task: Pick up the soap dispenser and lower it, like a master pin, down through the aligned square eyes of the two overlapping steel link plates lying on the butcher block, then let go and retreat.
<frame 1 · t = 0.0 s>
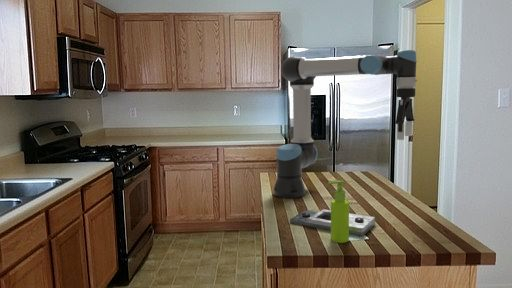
hand: (404, 137, 174), 28 cm above the worktop, fingers open, 13 cm apart
upper link: (331, 223, 150), on the worktop
soap dispenser: (338, 240, 135), on the worktop
lower link: (331, 223, 150), on the worktop
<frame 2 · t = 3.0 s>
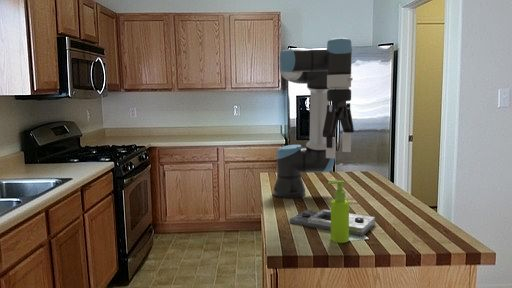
hand: (338, 154, 131), 29 cm above the worktop, fingers open, 13 cm apart
nothing on the worktop moved.
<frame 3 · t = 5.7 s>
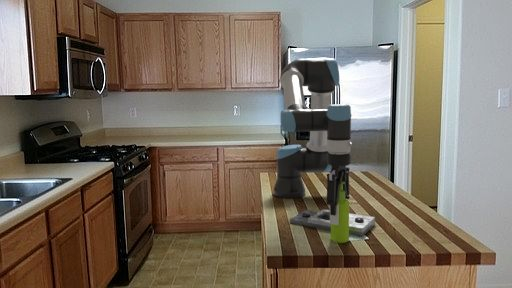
hand: (338, 220, 134), 6 cm above the worktop, fingers open, 6 cm apart
soap dispenser: (338, 240, 135), on the worktop, touching gripper
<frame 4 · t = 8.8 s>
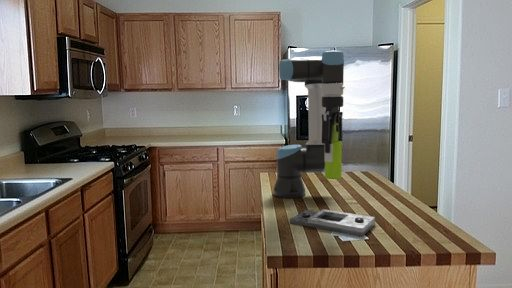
hand: (332, 160, 146), 24 cm above the worktop, fingers closed on soap dispenser, 6 cm apart
soap dispenser: (331, 178, 147), point 18 cm above the worktop, touching gripper
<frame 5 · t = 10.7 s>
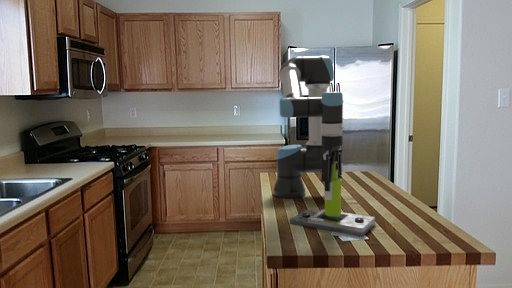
hand: (331, 197, 149), 10 cm above the worktop, fingers closed on soap dispenser, 6 cm apart
soap dispenser: (331, 214, 150), point 4 cm above the worktop, touching gripper
when the fingers open (7 cm above the worktop, at t = 11.9 s): soap dispenser stays where it is, resting in lower link.
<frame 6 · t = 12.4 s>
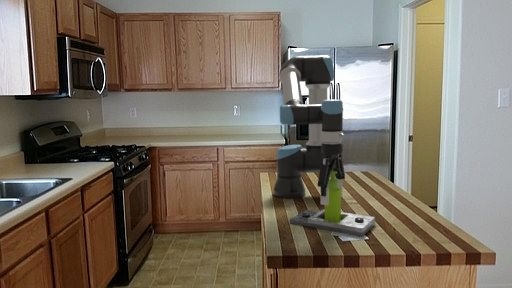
hand: (331, 200, 149), 9 cm above the worktop, fingers open, 12 cm apart
soap dispenser: (331, 224, 150), resting in lower link
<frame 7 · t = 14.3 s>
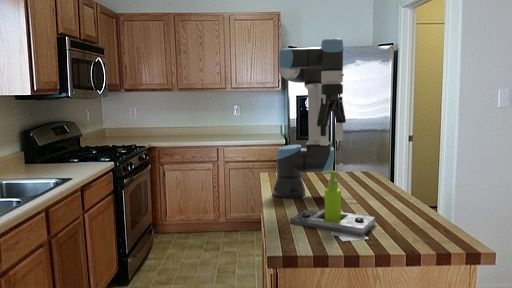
hand: (331, 142, 146), 30 cm above the worktop, fingers open, 13 cm apart
nothing on the worktop moved.
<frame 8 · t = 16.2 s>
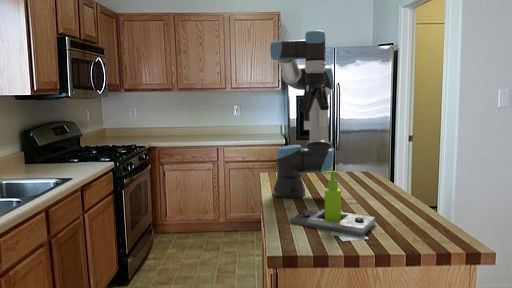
hand: (315, 128, 157), 35 cm above the worktop, fingers open, 13 cm apart
nothing on the worktop moved.
at the end: soap dispenser inside the target area on the upper link (0.2 cm from its centre), point 0.0 cm above the upper link's base; soap dispenser tilted 0°; the gripper is holding nothing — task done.
